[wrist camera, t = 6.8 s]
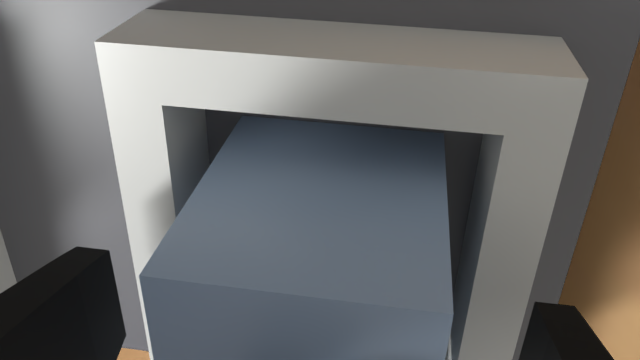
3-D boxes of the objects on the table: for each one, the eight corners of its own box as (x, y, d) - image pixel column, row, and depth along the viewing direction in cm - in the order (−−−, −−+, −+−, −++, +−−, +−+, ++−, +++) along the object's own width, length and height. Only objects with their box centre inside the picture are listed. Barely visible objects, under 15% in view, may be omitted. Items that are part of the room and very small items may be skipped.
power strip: (518, 358, 16) (540, 479, 13) (-254, 256, 19) (-380, 336, 16) (625, -23, 11) (700, 33, 8) (-457, -83, 14) (-699, -59, 11)
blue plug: (416, 323, 14) (409, 655, 8) (251, 302, 14) (139, 603, 9) (443, 133, 11) (459, 429, 6) (242, 115, 12) (75, 372, 6)
